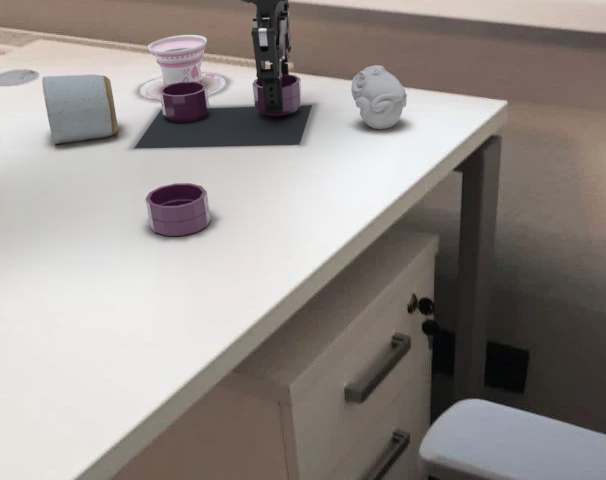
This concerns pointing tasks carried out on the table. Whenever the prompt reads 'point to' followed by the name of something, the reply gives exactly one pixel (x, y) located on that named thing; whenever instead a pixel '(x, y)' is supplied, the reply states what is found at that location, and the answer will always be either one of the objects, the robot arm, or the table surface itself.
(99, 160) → the table surface
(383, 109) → the frog figurine
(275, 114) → the dish right
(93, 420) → the table surface
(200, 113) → the dish left
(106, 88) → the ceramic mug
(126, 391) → the table surface
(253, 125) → the mat
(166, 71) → the teacup
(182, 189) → the dish middle
